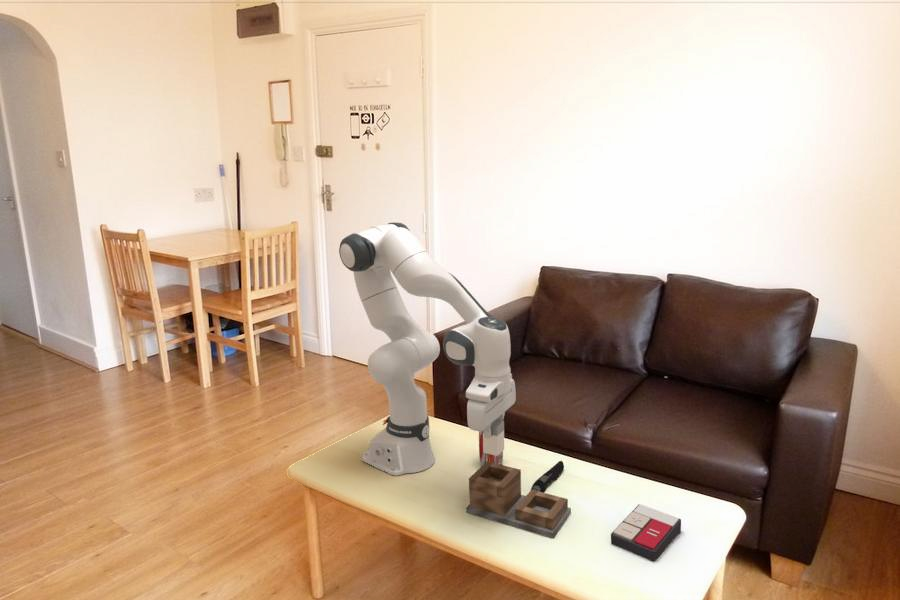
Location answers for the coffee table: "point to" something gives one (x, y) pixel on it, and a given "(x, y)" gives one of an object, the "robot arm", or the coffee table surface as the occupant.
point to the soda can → (488, 457)
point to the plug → (495, 439)
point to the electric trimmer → (548, 477)
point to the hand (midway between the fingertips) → (493, 432)
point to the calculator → (646, 532)
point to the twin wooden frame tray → (514, 501)
